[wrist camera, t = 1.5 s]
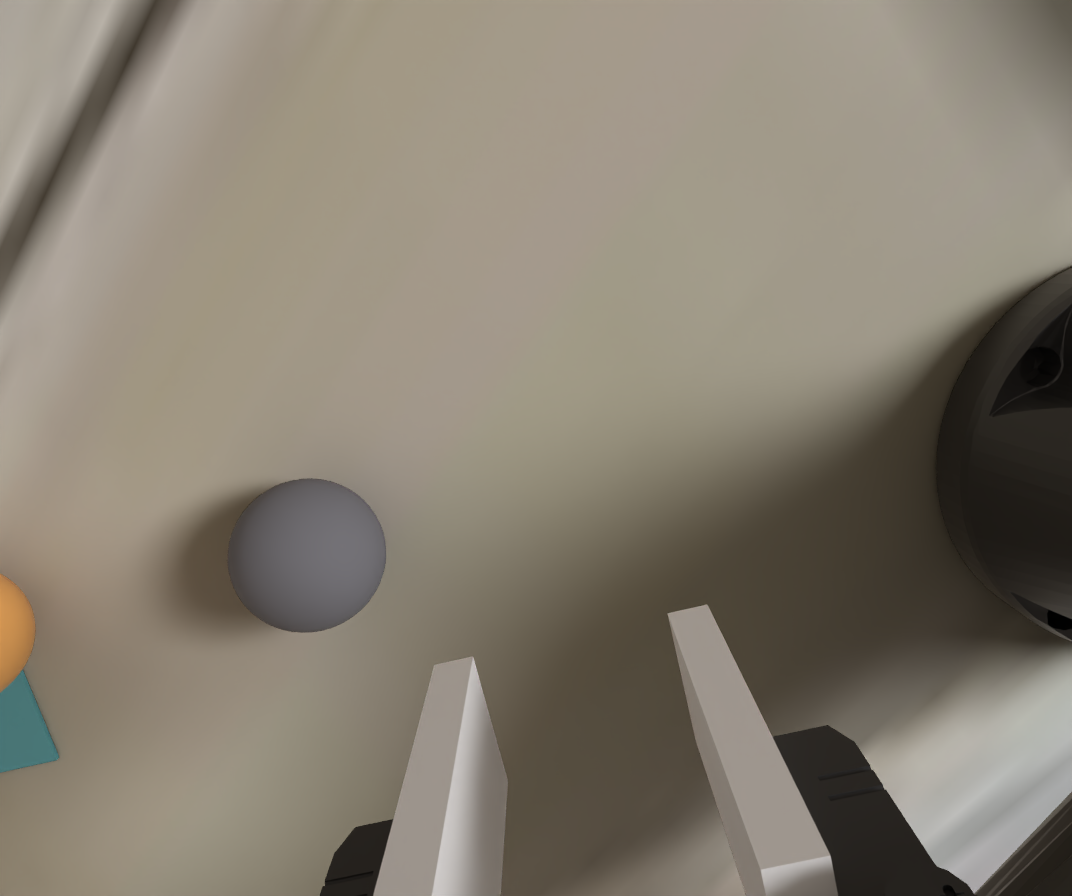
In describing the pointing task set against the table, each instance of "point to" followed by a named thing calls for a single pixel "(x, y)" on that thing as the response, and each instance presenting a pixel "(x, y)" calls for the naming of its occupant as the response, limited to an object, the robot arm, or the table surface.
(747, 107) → the table surface
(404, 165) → the table surface
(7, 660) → the orange ball
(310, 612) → the charcoal ball
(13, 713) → the teal mark
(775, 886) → the robot arm
